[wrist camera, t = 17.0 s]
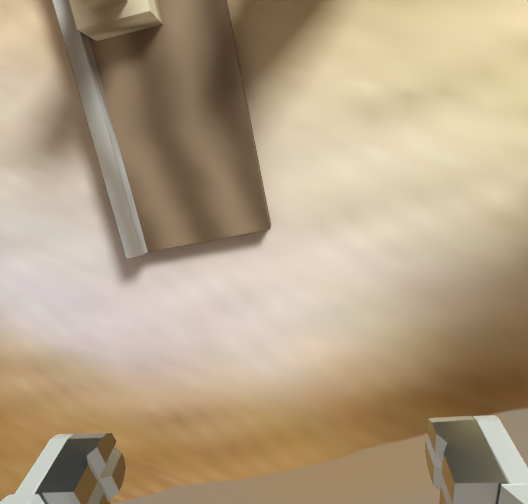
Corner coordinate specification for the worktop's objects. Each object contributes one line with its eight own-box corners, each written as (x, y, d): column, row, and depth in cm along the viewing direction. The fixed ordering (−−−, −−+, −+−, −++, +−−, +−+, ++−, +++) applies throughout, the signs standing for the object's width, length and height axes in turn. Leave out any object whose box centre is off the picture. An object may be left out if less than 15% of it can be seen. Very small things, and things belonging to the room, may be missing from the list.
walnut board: (199, -136, 31) (188, -173, 27) (271, 225, 37) (269, 232, 34) (41, -88, 32) (12, -118, 29) (136, 250, 39) (121, 259, 35)
